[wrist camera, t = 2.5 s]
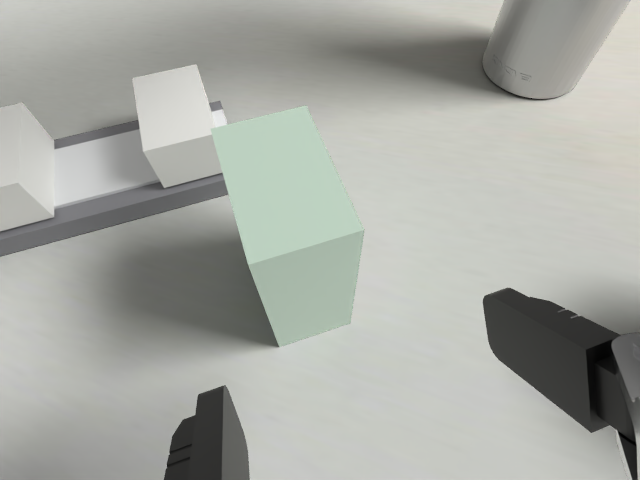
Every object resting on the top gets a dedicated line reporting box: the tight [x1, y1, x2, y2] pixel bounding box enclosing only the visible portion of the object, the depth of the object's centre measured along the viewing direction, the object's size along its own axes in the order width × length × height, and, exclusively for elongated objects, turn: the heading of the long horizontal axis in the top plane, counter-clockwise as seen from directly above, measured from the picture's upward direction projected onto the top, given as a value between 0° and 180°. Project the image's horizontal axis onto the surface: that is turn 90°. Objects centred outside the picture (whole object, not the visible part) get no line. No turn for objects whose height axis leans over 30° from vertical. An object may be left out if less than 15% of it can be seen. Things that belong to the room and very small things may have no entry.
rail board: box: [0, 64, 228, 256], centre depth 31 cm, size 20×9×6 cm, turn 109°
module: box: [211, 105, 364, 347], centre depth 24 cm, size 5×8×12 cm, turn 19°
